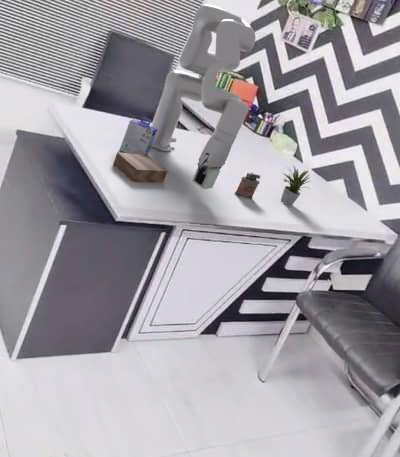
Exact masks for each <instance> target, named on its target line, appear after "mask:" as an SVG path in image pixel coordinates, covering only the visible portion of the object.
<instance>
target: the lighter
mask: <svg viewBox="0 0 400 457" xmlns="http://www.w3.org/2000/svg"><path fill="white" fill-rule="evenodd" d="M258 179H259V180H260V179H261V175H260V174H256V173H255V174H254V172H247V173H246V175H245V176H242V177H241V181H240V182H239V185H238V187H237V189H236V190H235V192H234V195H235V196H236V197H238V198H242V199H247V200H252V199H253V196H254V194H255V192H256V191H257V190H256V189H257V188H258V186H259V184H260V181H259V180H258Z"/></svg>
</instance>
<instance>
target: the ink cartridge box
mask: <svg viewBox="0 0 400 457" xmlns="http://www.w3.org/2000/svg"><path fill="white" fill-rule="evenodd" d="M147 121H148V122H147ZM152 122H153V120H152V119H149V118H147V117H146V116H142V118H141V119H140V120H138V119H136V118H133V119H131V120H130V121H129V123H128V125H127V128H126V130H125V133H124V136H123V139H122V142H121V145H120V147H119V151H121V152H122V153H131V154H144V155H149V153H150V150H151V148H152V147H151V145H152V142H153V140H154V137H155V135H156V132H157V129H156V128H154V127H151V124H152Z"/></svg>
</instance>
